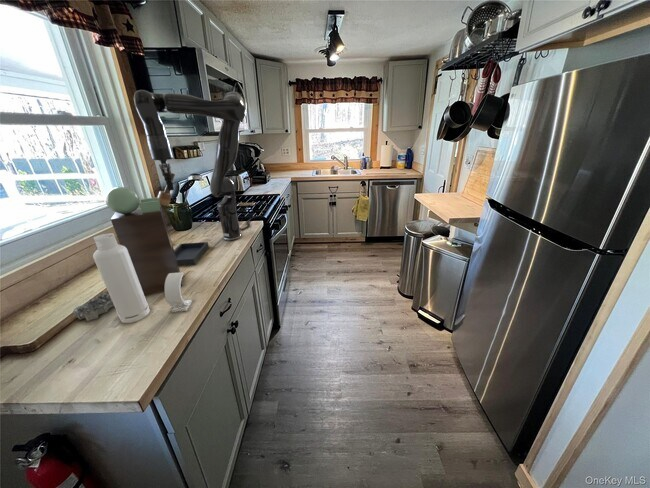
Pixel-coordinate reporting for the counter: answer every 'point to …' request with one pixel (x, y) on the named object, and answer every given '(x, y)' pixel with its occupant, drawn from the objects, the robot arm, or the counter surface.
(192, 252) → the tray
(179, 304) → the headphone stand
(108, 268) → the bottle
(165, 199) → the wooden mallet
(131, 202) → the flask
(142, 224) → the stand
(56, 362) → the counter surface
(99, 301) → the grey rock
